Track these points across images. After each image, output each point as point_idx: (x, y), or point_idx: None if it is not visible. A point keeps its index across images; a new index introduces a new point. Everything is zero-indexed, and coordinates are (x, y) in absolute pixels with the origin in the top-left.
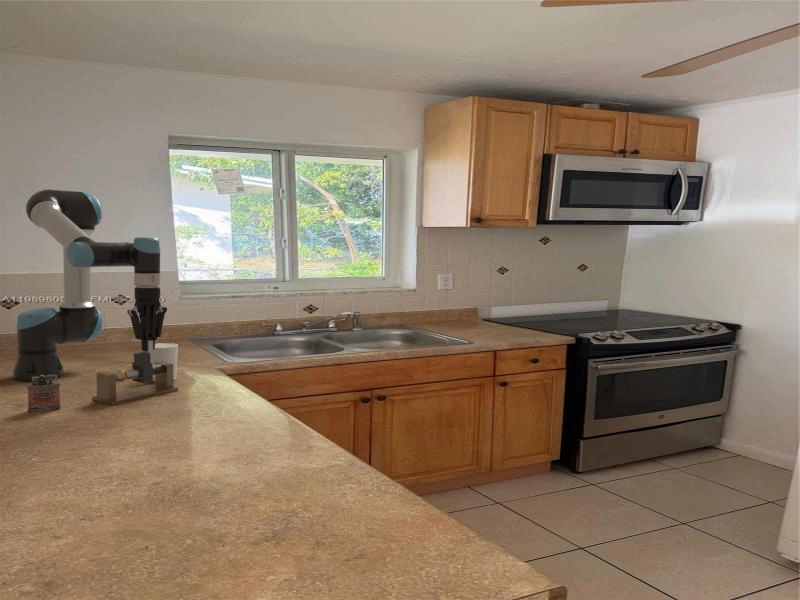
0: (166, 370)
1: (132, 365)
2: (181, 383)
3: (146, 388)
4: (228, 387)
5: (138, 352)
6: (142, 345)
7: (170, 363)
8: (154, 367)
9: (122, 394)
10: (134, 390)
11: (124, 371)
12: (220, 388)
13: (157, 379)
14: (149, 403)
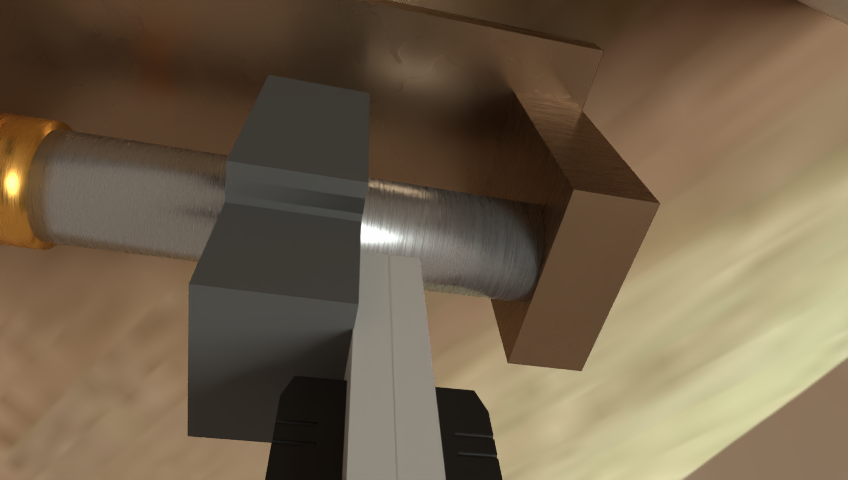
0: (499, 318)
1: (235, 145)
2: (726, 143)
3: (388, 109)
4: (684, 428)
5: (277, 297)
6: (266, 472)
7: (583, 346)
8: None
9: (126, 89)
10: (281, 73)
11: (17, 243)
12: (650, 412)
13: (516, 144)
14: (169, 335)
